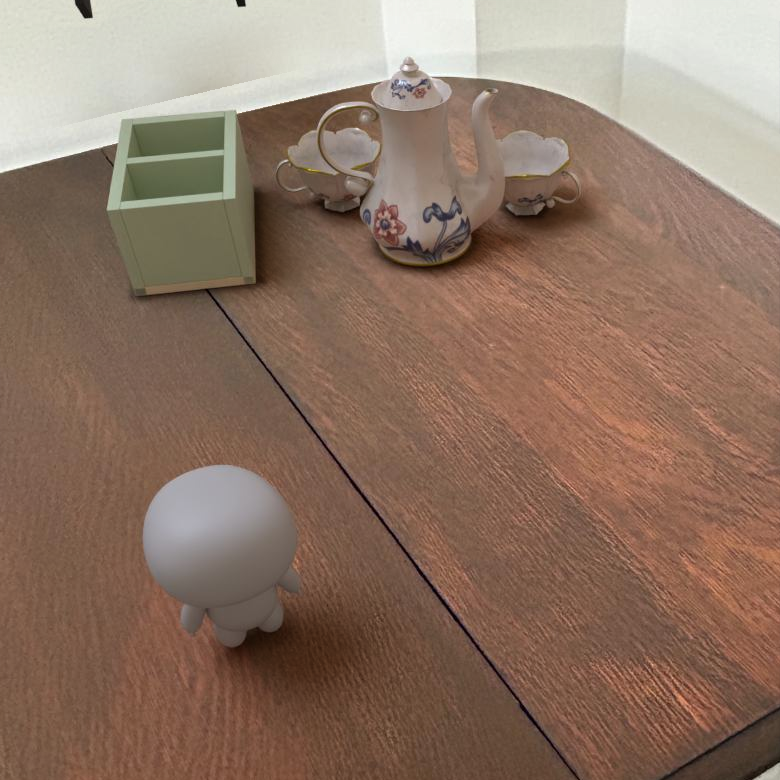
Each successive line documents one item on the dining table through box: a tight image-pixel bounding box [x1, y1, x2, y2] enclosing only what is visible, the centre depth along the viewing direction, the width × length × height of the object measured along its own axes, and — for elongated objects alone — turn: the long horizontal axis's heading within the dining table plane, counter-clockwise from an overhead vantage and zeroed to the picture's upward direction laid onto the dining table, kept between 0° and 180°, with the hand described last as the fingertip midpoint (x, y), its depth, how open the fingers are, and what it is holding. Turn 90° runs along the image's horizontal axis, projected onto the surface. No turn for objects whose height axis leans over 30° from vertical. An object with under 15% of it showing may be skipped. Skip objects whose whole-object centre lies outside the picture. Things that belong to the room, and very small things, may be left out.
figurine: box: [142, 464, 302, 648], centre depth 58 cm, size 8×8×12 cm
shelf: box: [106, 109, 257, 297], centre depth 90 cm, size 16×10×8 cm, turn 11°
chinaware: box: [275, 56, 582, 268], centre depth 89 cm, size 28×17×17 cm, turn 93°
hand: (162, 6), depth 92 cm, fingers open, 13 cm apart
